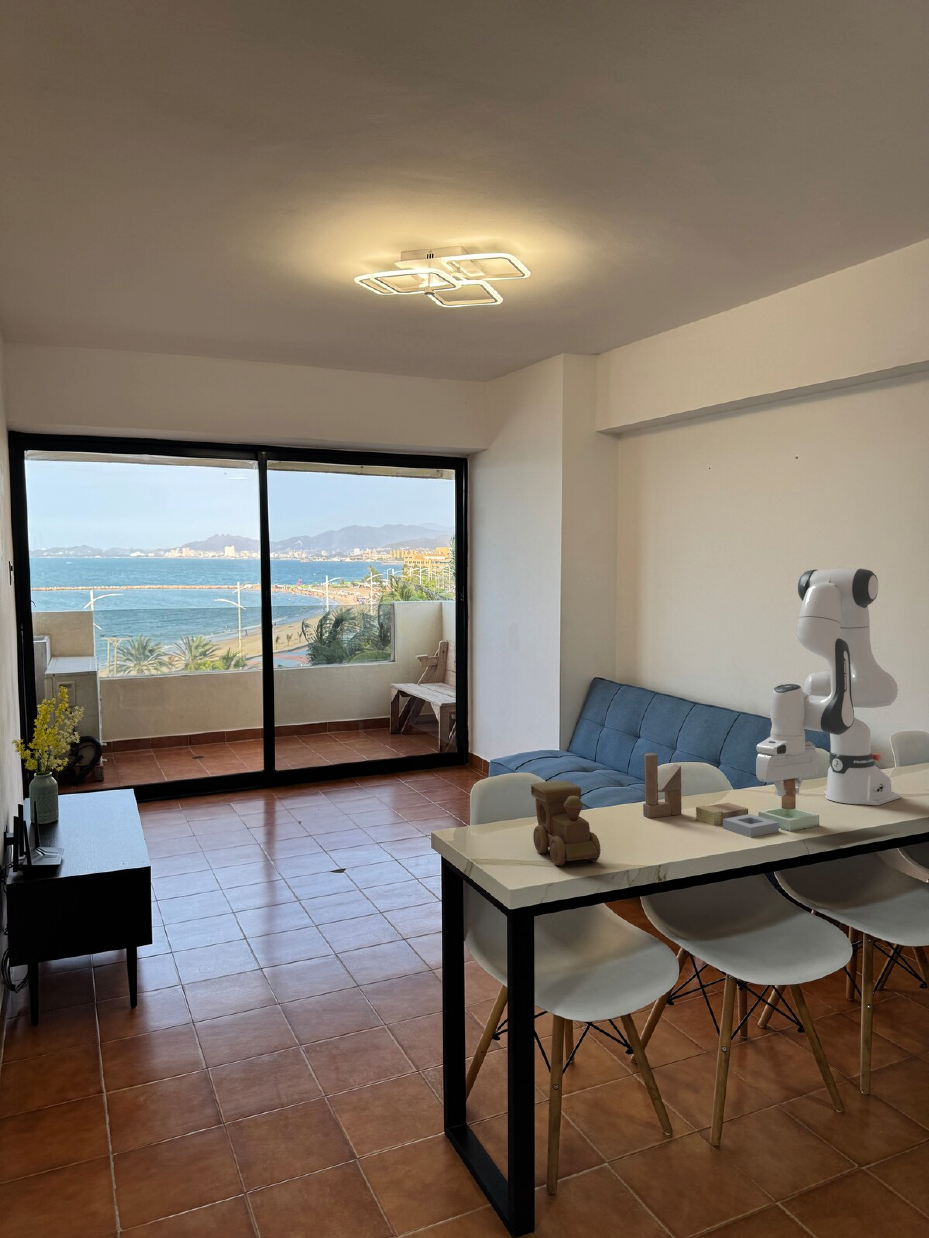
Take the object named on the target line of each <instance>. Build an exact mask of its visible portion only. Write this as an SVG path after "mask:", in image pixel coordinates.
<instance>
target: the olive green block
mask: <svg viewBox="0 0 929 1238" xmlns="http://www.w3.org/2000/svg"><path fill="white" fill-rule="evenodd" d="M707 806H708V805H700V806H696V807H695V816H696V818H695V819H696V820H698V821H700V822H703V823H706V824H709V825H712V826H717V825H723V824H722V811H720V810H717V809H713V808H710V807H707Z"/></svg>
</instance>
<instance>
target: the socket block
mask: <svg viewBox="0 0 929 1238" xmlns="http://www.w3.org/2000/svg"><path fill="white" fill-rule="evenodd" d="M722 829H725V830H727V831H729V832H730V831H731V832H732V833H733V832H734V833H736V834H740V835H743V836H746V837H749V838H755V837H759V836H764V835H769V834H773V833H778V832H779V822H776V821H772V820H769V819H765V818H762V817H759V815H755V814H751V813H750V814H749V813H748V815H742V816H737V817H731V818H726V819H723V824H722Z"/></svg>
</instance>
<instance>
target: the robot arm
mask: <svg viewBox="0 0 929 1238" xmlns="http://www.w3.org/2000/svg"><path fill="white" fill-rule="evenodd" d="M797 593H798V596H799V598H800V599H801V601H802V603H801V606H800V611H799V616H798V622H797V628H796V630H797V631H796V633H797V634H796V635H797V639H798V640H799V642H800V644H801V645H802V646H803V647H804V648H805V649H806V650H808V651H810V652H812V653H814V654H817V656H820V657H822V658H824V659H825V660H826V661H827V662H828V664H829V670H823V671H818V672H817V671H816V672H812V673H810V674H809V675H808V676H807V677H806V679H805V680H804V681H805V682H804V684H803V688H802V686H801V685H800V684H795V683H785V684H780V685H777V686H775V687H773V688H772V691H771V692H772V693H771V696H770V707H769V708H770V709H769V710H770V714H769V716H770V720H771V729H770V736H768V737H767V738H766V739H764V740H763V741H761V742H759V743H758V744H757V745H756V752H757V756H756V759H755V760H756V761H755V774H756V779H757V780H758V781H760V782H763V783H772V782H773V784H774V786H775V788H776V791H777V792H776V795H777V796H778V797H781V796H786V790H785V789H784V788H783V786H782V784H783V780H787V779H794V778H795V793H796V795H798V794H800V788H801V786H802V783H803V778H806V777H811V776H817V775H818V773H819V771H820V769H819V759H818V758H819V757H818V753H817V751H816V749H817V748H816V745H815V744H814V743H812V741H806V732H805V730H809V731H817V732H824V733H828V734H829V739H830V751H829V755H828V759H829V760H828V762H829V764H830V767H828V769H827V779H826V780H827V781H826V789H824V791H823V792H824V795H825V798H826V799H827V800H830V801H834V802H836V803H841V804H850V805H869V806H881V805H883V804H887V803H889V802H892V801H895V800H897V799H900V798H901V794H900V793H898V792H896V791H893V789H892V783H891V778H890V777H889V776H888V774H886V773H885V772H883V771H882V770H881V769H880V768H879V767H877V765H876V762H875V761H877V762H879V761H880V760H881V757H882V756H881V754H880V753H874V752H873V753H871V751H872V750H871V748H872V747H871V744H872V742H871V738H872V737H871V729H870V727H869V725H868V724H867V723H865V722H864V721H861V719H858V718H856V717H855V711H854V709H855V708H862V709H863V708H866V709H867V708H868V709H869V708H870V709H874V708H882V707H888V706H889V707H890V706H891V705H892V704H893V703H894V702H895V701H896V699H897V698H898V694H899V693H898V692H899V689H898V684H897V681H896V679H895V678H894V677H893V676H892V675H891V674H890V673H888V672H886V671H885V670H884V669H883V668H882V667H881V666H880V664H879V663H877V660H876V659H875V657H874V654H873V651H872V647H871V646H872V645H871V635H870V634H871V631H870V630H871V629H870V627H871V626H870V624H871V623H870V611H869V605H871V604H873V602H874V601H875V600H876V599H877V596H878V593H879V580H878V577H877V575H876V574H875V573H874V572H873V571H872V570H869V569H867V568H859V569H857V568H850V567H849V568H848V567H847V568H844V567H837V568H828V569H827V568H826V569H824V568H823V569H810V570H807V571H806V570H805V571H804V572H803V574H802V575H801V576H799V580H798V583H797ZM851 667H852V669H851Z"/></svg>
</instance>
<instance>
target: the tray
mask: <svg viewBox="0 0 929 1238" xmlns="http://www.w3.org/2000/svg"><path fill="white" fill-rule="evenodd" d="M757 816H759V817H762V818H765V819H769V820H772V821H776V822H779V828H781V829H780V830H782V831H786V832H795V830H796V831H800V830H799V829H801V830H804V829H803V828H806V829H810V828H815V826H816V827H820V814H819V813H818V814H817V813H814V812H810V811H806V810H803V809H799V808H796V809H791V810H790V809H783V808H782V806H781V807H776V808H769V809H765V810H760V811H758V815H757Z"/></svg>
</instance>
